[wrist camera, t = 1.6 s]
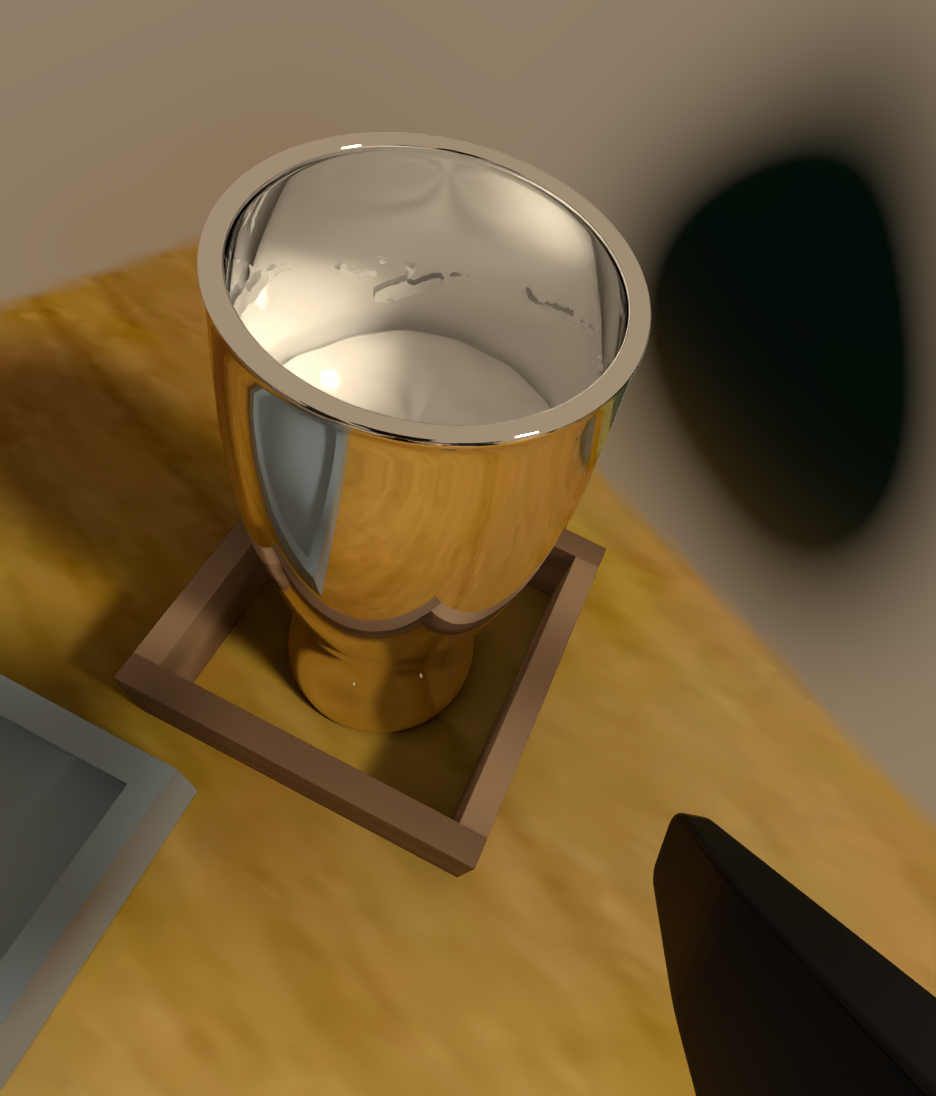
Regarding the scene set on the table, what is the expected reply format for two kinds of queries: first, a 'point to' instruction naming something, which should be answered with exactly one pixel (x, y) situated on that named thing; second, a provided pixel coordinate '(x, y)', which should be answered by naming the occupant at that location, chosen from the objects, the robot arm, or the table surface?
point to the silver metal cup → (410, 396)
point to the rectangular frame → (451, 844)
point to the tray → (67, 849)
